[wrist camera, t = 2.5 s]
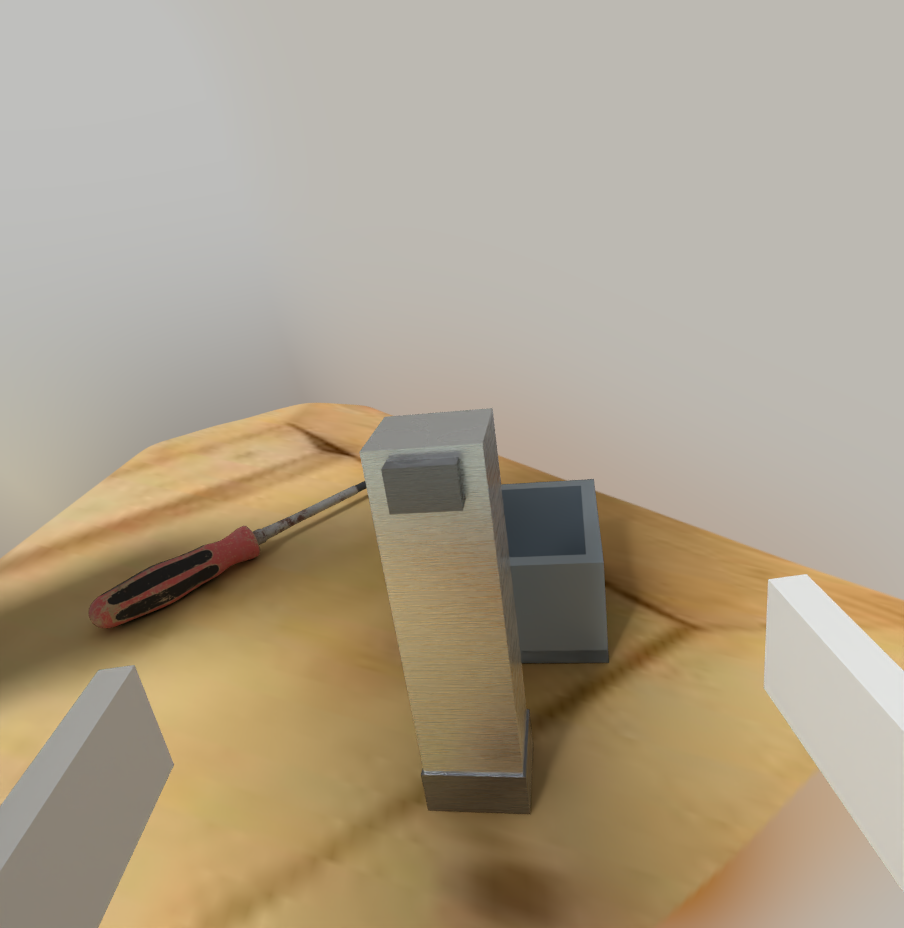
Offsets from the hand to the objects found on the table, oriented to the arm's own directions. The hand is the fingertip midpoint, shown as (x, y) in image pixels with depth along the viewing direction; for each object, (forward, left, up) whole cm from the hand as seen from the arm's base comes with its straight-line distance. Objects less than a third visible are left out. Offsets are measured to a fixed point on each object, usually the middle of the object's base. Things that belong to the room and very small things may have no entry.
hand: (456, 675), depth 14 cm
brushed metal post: (-2, +10, -14) cm, 17 cm away
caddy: (-1, +22, -14) cm, 26 cm away
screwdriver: (-21, +30, -14) cm, 40 cm away
